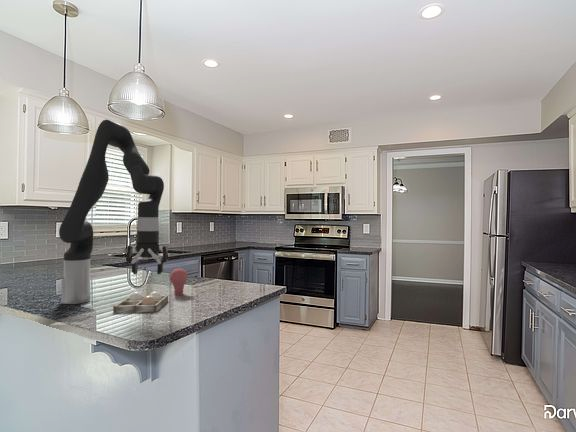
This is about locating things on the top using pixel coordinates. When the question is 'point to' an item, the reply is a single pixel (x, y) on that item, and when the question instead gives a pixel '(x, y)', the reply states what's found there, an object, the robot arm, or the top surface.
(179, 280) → the light bulb
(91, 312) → the top surface
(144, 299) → the beige ball
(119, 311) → the divided tray
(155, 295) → the white egg back right
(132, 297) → the white egg back left
